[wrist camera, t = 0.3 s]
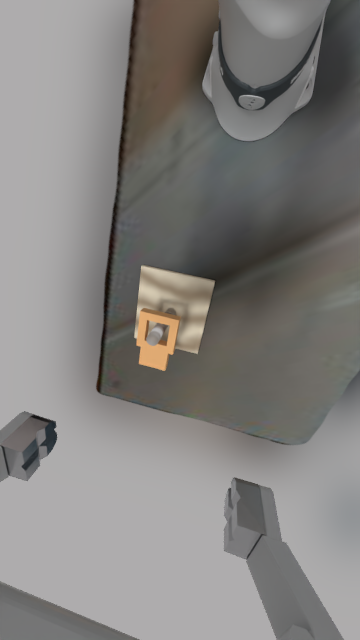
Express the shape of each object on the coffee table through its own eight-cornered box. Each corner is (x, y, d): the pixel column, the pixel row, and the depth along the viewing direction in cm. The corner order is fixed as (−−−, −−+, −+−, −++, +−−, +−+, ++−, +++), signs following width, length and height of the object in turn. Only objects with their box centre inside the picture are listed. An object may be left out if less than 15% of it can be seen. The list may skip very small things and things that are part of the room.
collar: (143, 307, 46) (140, 310, 44) (181, 316, 45) (179, 320, 43) (137, 357, 51) (134, 362, 49) (171, 366, 50) (169, 371, 48)
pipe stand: (143, 264, 54) (110, 279, 39) (215, 280, 52) (210, 302, 37) (136, 335, 63) (106, 370, 47) (198, 351, 61) (188, 392, 45)
